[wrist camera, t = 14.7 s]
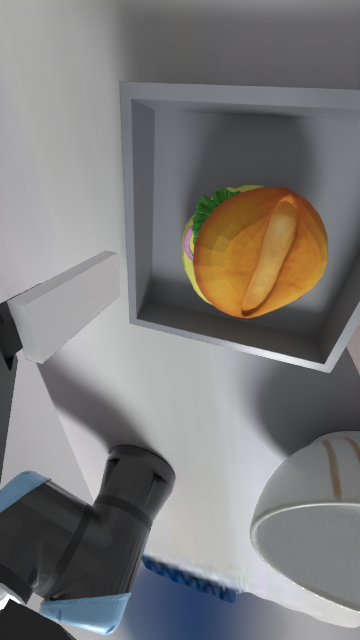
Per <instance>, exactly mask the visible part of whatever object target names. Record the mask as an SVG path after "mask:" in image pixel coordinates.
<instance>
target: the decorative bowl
mask: <svg viewBox="0 0 360 640" xmlns="http://www.w3.org/2000/svg"><path fill="white" fill-rule="evenodd" d="M250 539H251V542H252V545H253V547H254V549H255V550H256V552H257V553H258V555H259V556H260V557H261V558H262V560H263V561H264V562H265V563H266V564H267V565H268V566H270V567H271V568H272V569H273V570H274V571H276V572H277V573H278V574H280V575H281V576H282V577H284V578H285V579H287V580H288V581H290V582H292V583H293V584H295V585H297V586H298V587H300V588H302V589H304V590H306V591H308V592H309V593H311V594H313V595H315V596H317V597H320V598H322V599H324V600H326V601H328V602H331V603H333V604H335V605H338V606H340V607H343V608H345V609H348V610H351V611H353V612H356V613H359V614H360V431H339V432H333V433H329V434H326V435H323V436H320V437H318V438H317V439H315V440H314V441H312V442H311V443H310V444H309V445H308V446H306V447H304V448H302V449H300V450H299V451H297V452H295V453H294V454H293V455H291V456H290V457H289V458H287V459H286V460H285V461H284V462H283V463H282V464H281V465H280V466H279V467H278V468H277V470H276V471H275V472H274V473H273V475H272V476H271V478H270V479H269V481H268V482H267V484H266V486H265V488H264V490H263V492H262V494H261V496H260V498H259V501H258V503H257V506H256V508H255V511H254V515H253V518H252V522H251V527H250Z"/></svg>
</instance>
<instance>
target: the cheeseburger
mask: <svg viewBox="0 0 360 640" xmlns="http://www.w3.org/2000/svg"><path fill="white" fill-rule="evenodd" d="M182 253H183V254H182V260H183V264H184V269H185V271H186V273H187V276H188V278H189V279H190V281H191V283H192V285H193V288H194V290H195V291H196V292H197V293H198V295H199V296H200V297H202V298H203V299H204V300H205V301H206V302H208V303H210V304H212V305H213V306H215V307H216V308H217V309H219V310H220V311H222V312H225V313H227V314H229V315H231V316H235V317H241V318H252V317H256V316H260V315H263V314H265V313H268V312H271V311H273V310H275V309H278V308H280V307H282V306H285V305H287V304H289V303H291V302H293V301H295V300H297V299H300V298H301V297H302V296H303V295H304V294H305V293H307V292H308V291H310V290H311V289H313V288H314V287H315V285H316V284H317V283H318V281H319V280H320V279H321V277H322V276H323V274H324V271H325V268H326V265H327V261H328V236H327V233H326V229H325V226H324V224H323V221H322V219H321V217H320V215H319V213H318V212H317V211H316V210H315V208H314V207H313V206H312V205H311V203H310V202H309V201H308V200H306V199H305V198H304V197H302V196H301V195H299V194H297V193H296V192H294V191H292V190H290V189H288V188H286V187H281V186H274V187H264V186H259V185H243V186H241V187H238V188H236V189H234V188H230V187H228V188H222V189H220V190H218V191H214V190H213V197H212V198H211V199H210V198H208V197H207V196H205V195H204V194H203V195H202V199H201V200H200V201H199V202H198V203H197V204H196V214H195V215H193V216H192V218H191V219H190V220H189V222H188V223H187V224H186V226H185V229H184V233H183V237H182Z"/></svg>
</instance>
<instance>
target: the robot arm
mask: <svg viewBox="0 0 360 640" xmlns="http://www.w3.org/2000/svg"><path fill="white" fill-rule="evenodd" d="M119 296H120V286H119V268H118V253H116V252H111V251H104V252H102V253H100V254H98V255H96V256H94V257H92V258H90V259H88V260H86V261H84V262H82V263H80V264H78V265H76V266H74V267H73V268H71V269H69V270H67V271H65V272H63V273H61V274H59V275H57V276H55V277H53V278H51V279H49V280H47V281H45V282H43V283H40V284H38V285H36V286H34V287H32V288H31V289H28V290H26V291H24V292H23V293H20V294H18V295H16V296H14V297H12V298H10V299H8V300H7V301H5V302H3V303H1V304H0V482H1V475H2V468H3V461H4V454H5V447H6V439H7V433H8V426H9V419H10V412H11V404H12V398H13V391H14V383H15V377H16V370H17V363H18V359H17V356H16V353H17V352H18V351H19V350H21V349H22V348H23V350H24V353H25V356H26V359H27V360H31V361H34V362H37V363H40V364H43V363H44V362H45V361H46V360H47V359H48V358H50V357H51V356H52V355H53V354H54V353H55V352H56V351H58V350H59V349H60V348H61V347H62V346H63V345H64V344H66V343H67V342H68V341H69V340H70V339H71V338H72V337H74V336H75V335H76V334H77V333H78V332H79V331H80V330H82V329H83V328H84V327H85V326H86V325H87V324H88V323H90V322H91V321H92V320H93V319H94V318H95V317H96V316H98V315H99V314H100V313H101V312H102V311H103V310H104V309H106V308H107V307H108V306H109V305H110V304H111V303H112V302H114V301H115V300H116V299H117V298H118V297H119ZM346 347H347V349H348V351H349V353H350V355H351V358H352V360H353V362H354V364H355V366H356V368H357V371H358V373H359V375H360V323H359V324H358V326H357V328H356V330H355V331H354V333H353V335H352V337H351V338H350V340H349V342H348V343H347V345H346ZM174 482H175V475H174V472H173V471H172V469H171V468H170V467H169V465H168V464H167V463H165V462H164V461H163V460H162V459H160V458H159V457H157V456H156V455H154V454H152V453H150V452H148V451H146V450H144V449H141V448H138V447H134V446H126V445H124V446H117V447H115V448H114V449H113V450H112V451H111V453H110V455H109V457H108V459H107V461H106V465H105V470H104V474H103V479H102V483H101V488H100V492H99V494H98V496H97V498H96V500H95V502H94V504H93V506H91V505H89V504H87V503H86V502H84V501H83V500H81V499H79V498H78V497H76V496H75V495H73V494H71V493H69V492H68V491H66V490H65V489H63V488H62V487H60V486H59V485H57V484H56V483H54V482H53V481H51V479H50V478H46V477H43V476H42V475H40V474H38V473H36V472H34V471H24V472H22V473H20V474H19V475H17V476H16V477H14V478H13V479H12V480H11V481H10V482H8V483H7V484H6V485H5V486H4V487H3V488H2V489H1V490H0V640H76V639H75V638H74V637H73V636H72V635H71V634H70V633H68V632H67V631H66V630H65V629H64V628H63V627H62V626H60V625H59V624H57V623H56V622H54V621H52V620H50V619H53V620H57V621H60V622H63V623H66V624H69V625H72V626H75V627H79V628H82V629H85V630H89V631H92V632H95V633H99V634H103V635H109V634H111V633H112V632H114V631H115V629H116V628H117V627H118V625H119V623H120V620H121V618H122V615H123V612H124V609H125V607H126V604H127V601H128V598H129V597H130V596H131V590H132V587H133V584H134V580H135V577H136V574H137V571H138V568H139V565H140V562H141V558H142V555H143V552H144V549H145V546H146V542H147V539H148V536H149V533H150V530H151V526H152V523H153V521H154V519H155V517H156V515H157V514H158V512H159V511H160V509H161V508H162V506H163V505H164V503H165V502H166V500H167V498H168V497H169V495H170V494H171V492H172V489H173V486H174ZM33 592H34V593H35V594H37V595H39V596H41V597H42V598H44V600H43V601H42V602H41V604H40V605H41V607H40V610H39V613H37V612H35V611H33V610H31V609H29V608H28V607H26V604H27V602H28V600H29V599H30V596H31V595H32V593H33ZM46 617H47V618H46ZM48 618H50V619H48Z"/></svg>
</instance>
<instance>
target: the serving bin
mask: <svg viewBox="0 0 360 640" xmlns="http://www.w3.org/2000/svg"><path fill="white" fill-rule="evenodd" d="M119 83H120V106H121V130H122V153H123V177H124V200H125V224H126V248H127V271H128V295H129V318H130V324H134V325H138V326H142V327H146V328H150V329H154V330H158V331H162V332H166V333H170V334H174V335H178V336H182V337H186V338H190V339H194V340H198V341H202V342H206V343H210V344H214V345H218V346H222V347H227V348H231V349H235V350H239V351H243V352H247V353H251V354H255V355H259V356H263V357H267V358H271V359H275V360H279V361H283V362H287V363H291V364H295V365H299V366H303V367H307V368H311V369H315V370H319V371H323V372H327V373H331V371H332V369H333V368H334V366H335V364H336V363H337V361H338V359H339V358H340V356H341V354H342V352H343V351H344V349H345V347H346V345H347V343H348V342H349V340H350V338H351V337H352V335H353V333H354V331H355V330H356V328H357V326H358V324H359V323H360V89H329V88H299V87H268V86H238V85H207V84H177V83H147V82H119ZM243 185H259V186H264V187H274V186H281V187H286V188H288V189H290V190H292V191H294V192H296V193H297V194H299V195H301V196H302V197H304V198H305V199H306V200H308V201H309V202H310V203H311V205H312V206H313V207H314V208H315V210H316V211H317V212H318V213H319V215H320V217H321V219H322V221H323V224H324V226H325V229H326V233H327V236H328V261H327V265H326V268H325V271H324V274H323V276H322V277H321V279H320V280H319V281H318V283H317V284H316V285H315V287H314V288H313V289H311V290H310V291H308V292H307V293H305V294H304V295H303V296H302V297H301V298H300V299H297V300H295V301H293V302H291V303H289V304H287V305H285V306H282V307H280V308H278V309H275V310H273V311H271V312H268V313H265V314H263V315H260V316H256V317H252V318H241V317H235V316H231V315H229V314H227V313H225V312H222V311H220V310H219V309H217V308H216V307H215V306H213V305H212V304H210V303H208V302H206V301H205V300H204V299H203V298H202V297H200V296H199V295H198V293H197V292H196V291H195V290H194V288H193V285H192V283H191V281H190V279H189V278H188V276H187V273H186V271H185V269H184V264H183V260H182V254H183V253H182V237H183V233H184V229H185V226H186V224H187V223H188V222H189V220H190V219H191V218H192V216H193V215H195V214H196V204H197V203H198V202H199V201H200V200H201V199H202V195H203V194H204V195H205V196H207V197H208V198H210V199H211V198H212V197H213V190H214V191H218V190H220V189H222V188H228V187H230V188H234V189H236V188H238V187H241V186H243Z"/></svg>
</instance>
